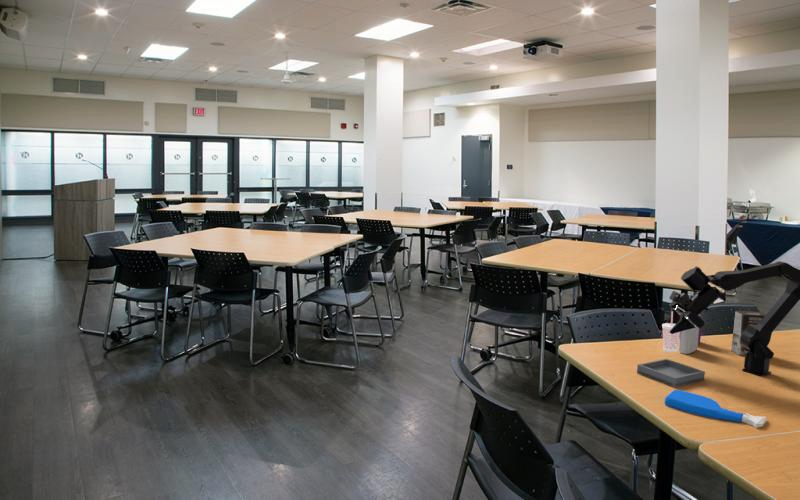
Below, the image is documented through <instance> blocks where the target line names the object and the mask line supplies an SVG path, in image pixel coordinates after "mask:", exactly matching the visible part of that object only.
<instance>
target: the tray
mask: <svg viewBox="0 0 800 500" xmlns="http://www.w3.org/2000/svg"><path fill="white" fill-rule="evenodd" d="M636 367H637V370H636V373H637V374H639V375H641V376H645V377H647V378H650V379H651V380H654V381H658V382H659V383H662V384H665V385H667V386H670V387H673V388H678V387H682V386H687V385H691V384H694V383H698V382H702V381H705V375H706V371H705V370H702V369H698V368H696V367H692V366H690V365H686V364H683V363H681V362H678V361H675V360H671V359H668V358H663V359H658V360H653V361H648V362H643V363H639V364H637V366H636Z"/></svg>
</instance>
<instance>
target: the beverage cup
mask: <svg viewBox="0 0 800 500" xmlns="http://www.w3.org/2000/svg"><path fill="white" fill-rule="evenodd" d="M670 315H671V323H666V322H665V323H662V324H661V327H662V350H663V351H664V352H667V353H676V352H679V345H680V338H679V337H680V332H677V333H674V334H671V333H670V330H671V329H672V328H673V327H674V326H675V325H676V324H673V323H672V322H673V311H672V312H671V311H670Z"/></svg>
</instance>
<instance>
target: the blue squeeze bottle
mask: <svg viewBox="0 0 800 500" xmlns="http://www.w3.org/2000/svg"><path fill="white" fill-rule="evenodd" d="M664 404H665V405H666V406H667V407H670V408H673V409H676V410H680V411H683V412H686V413H691V414H693V415H697V416H701V417H706V418H710V419H718V420H723V421H728V422H729V421H730V422H737V423H744V424H747V425H750V426H752V427H754V428H756V429H757V428H762V427H763V426H764V425H765V424H766V423H767V419H768V418H767V417H766V416H765V415H764V416H760V415H759V416H757V415H756V416H755V415H752V414H749V413H747V412H745V414H744V413H742V412H736V411H733V410H729V409H727V408H722V407H721V405H720V404H719V403H718V402H717V401H716V400H714V399H712V398H710V397H707V396H704V395H701V394H697V393H693V392H688V391H685V390H679V389H674V390H672V391H671V392H670V393H669V394H667V395H666V397H665V398H664Z"/></svg>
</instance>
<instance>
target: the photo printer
mask: <svg viewBox="0 0 800 500" xmlns="http://www.w3.org/2000/svg"><path fill="white" fill-rule="evenodd" d="M695 327H696V325H695ZM698 334H699V328H697V327H696V328H692V329H688V330H684V331H681V334H680V336H679V337H680V338H679V345H678V352H680V353H681V354H683V355H684V354H685V355H687V354H688V355H689V354H691V353H694V352H695V351H697V350H698V345H699V343H698Z"/></svg>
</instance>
